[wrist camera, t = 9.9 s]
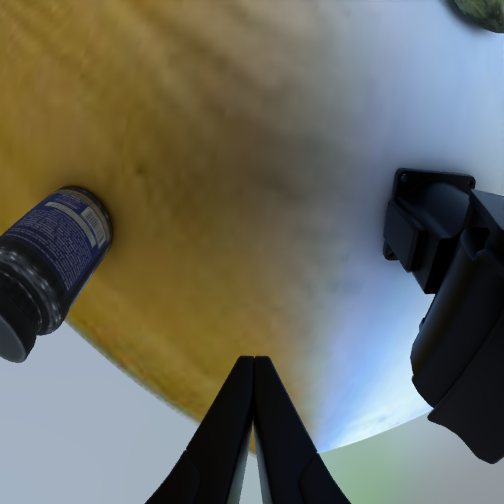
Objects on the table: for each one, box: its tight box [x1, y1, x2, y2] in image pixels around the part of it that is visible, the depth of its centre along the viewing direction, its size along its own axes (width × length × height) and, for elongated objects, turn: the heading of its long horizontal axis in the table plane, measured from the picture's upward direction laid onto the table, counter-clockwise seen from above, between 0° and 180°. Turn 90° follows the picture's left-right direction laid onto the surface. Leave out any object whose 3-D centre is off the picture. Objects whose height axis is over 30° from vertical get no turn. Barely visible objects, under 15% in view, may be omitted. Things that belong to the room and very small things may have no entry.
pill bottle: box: [0, 187, 112, 363], centre depth 15 cm, size 6×6×11 cm
